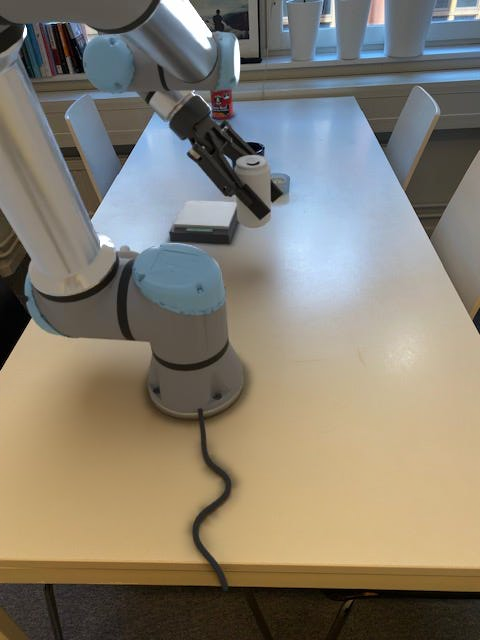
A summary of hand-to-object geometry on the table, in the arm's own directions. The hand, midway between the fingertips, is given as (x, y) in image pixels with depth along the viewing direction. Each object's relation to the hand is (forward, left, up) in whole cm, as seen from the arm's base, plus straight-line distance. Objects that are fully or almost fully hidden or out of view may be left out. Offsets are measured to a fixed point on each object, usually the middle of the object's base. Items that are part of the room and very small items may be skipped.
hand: (271, 206), depth 90 cm
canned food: (+100, +31, -16) cm, 106 cm away
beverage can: (+1, +3, -4) cm, 5 cm away
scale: (+19, +18, -16) cm, 31 cm away
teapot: (-9, +28, -16) cm, 34 cm away
